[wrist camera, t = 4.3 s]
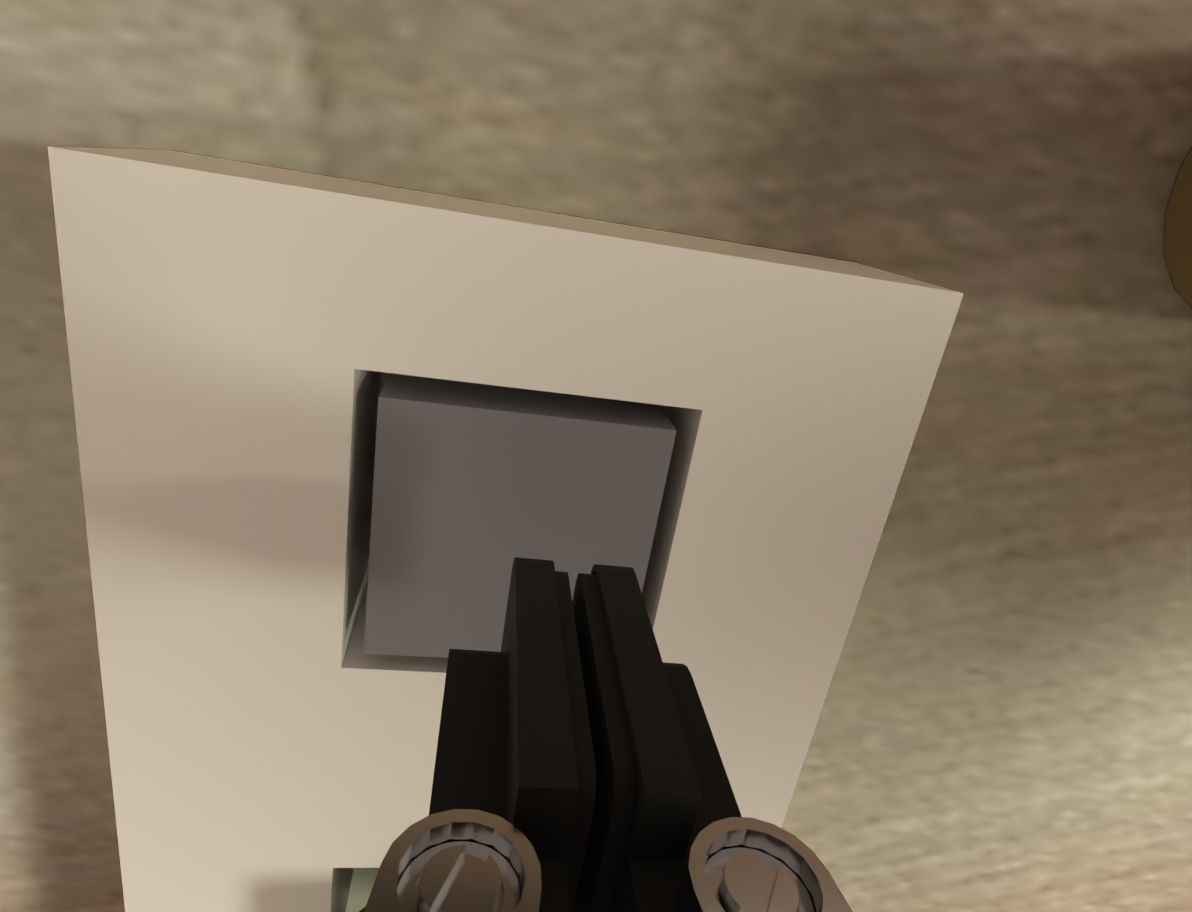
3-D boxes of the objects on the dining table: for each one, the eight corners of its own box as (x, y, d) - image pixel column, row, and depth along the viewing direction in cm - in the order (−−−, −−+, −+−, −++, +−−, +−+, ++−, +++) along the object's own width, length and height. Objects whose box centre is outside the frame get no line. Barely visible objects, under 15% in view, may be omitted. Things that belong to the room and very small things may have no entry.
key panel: (855, 262, 16) (964, 292, 12) (663, 940, 24) (694, 1083, 20) (169, 149, 13) (47, 146, 10) (205, 951, 21) (145, 1116, 18)
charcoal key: (643, 381, 15) (676, 430, 12) (604, 584, 17) (626, 667, 14) (400, 351, 14) (378, 397, 12) (385, 569, 16) (363, 653, 13)
